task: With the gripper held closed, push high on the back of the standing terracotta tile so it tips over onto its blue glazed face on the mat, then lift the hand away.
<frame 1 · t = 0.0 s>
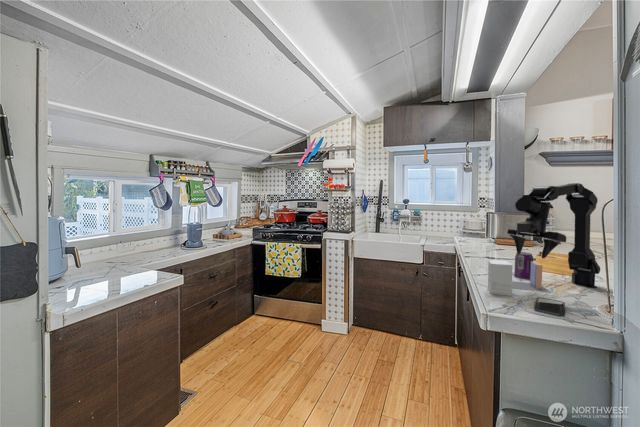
hand: (530, 256, 110), 15 cm above the countertop, tool pointing down, fingers open, 9 cm apart
beverage can: (523, 278, 134), on the countertop
mat: (524, 287, 120), on the countertop
phone: (549, 308, 99), on the countertop
tile: (535, 286, 119), point 1 cm above the countertop, touching mat
supplement box: (499, 293, 113), on the countertop
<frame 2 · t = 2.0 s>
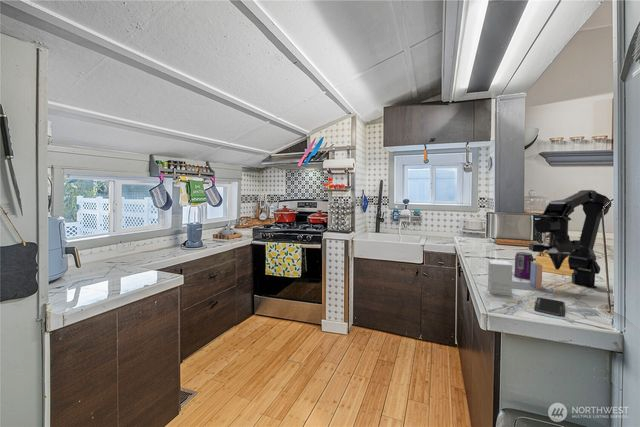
hand: (557, 269, 116), 9 cm above the countertop, tool pointing down, fingers closed
nothing on the countertop moved.
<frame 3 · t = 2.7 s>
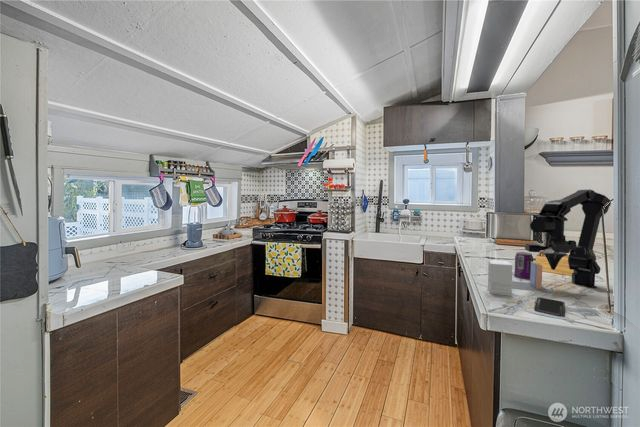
hand: (553, 269, 117), 9 cm above the countertop, tool pointing down, fingers closed
nothing on the countertop moved.
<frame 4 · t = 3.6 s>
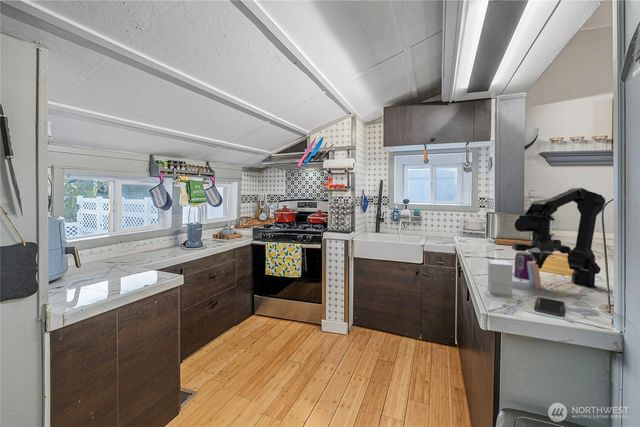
hand: (539, 268, 118), 9 cm above the countertop, tool pointing down, fingers closed
tile: (535, 286, 119), point 1 cm above the countertop, tilted 9°, touching gripper, mat
everything else where it was.
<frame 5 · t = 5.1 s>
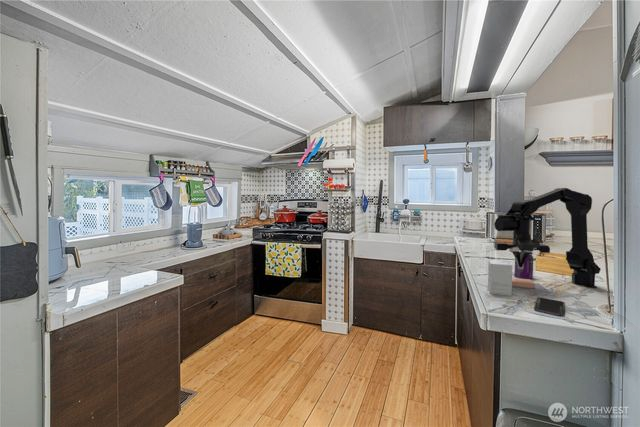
hand: (520, 267, 121), 9 cm above the countertop, tool pointing down, fingers closed
tile: (532, 283, 119), point 2 cm above the countertop, tilted 90°, touching mat
everything else where it was.
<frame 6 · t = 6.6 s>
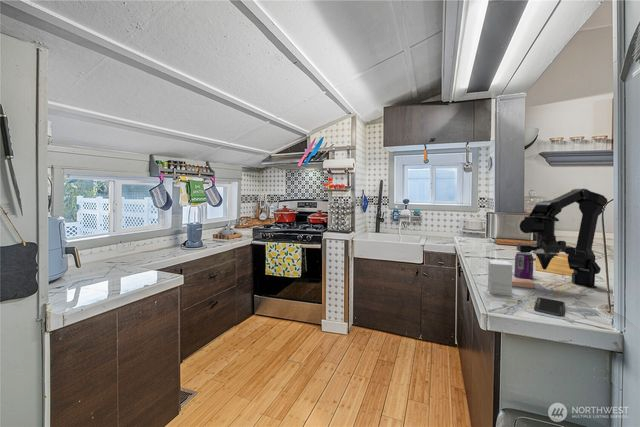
hand: (544, 269, 118), 8 cm above the countertop, tool pointing down, fingers closed
nothing on the countertop moved.
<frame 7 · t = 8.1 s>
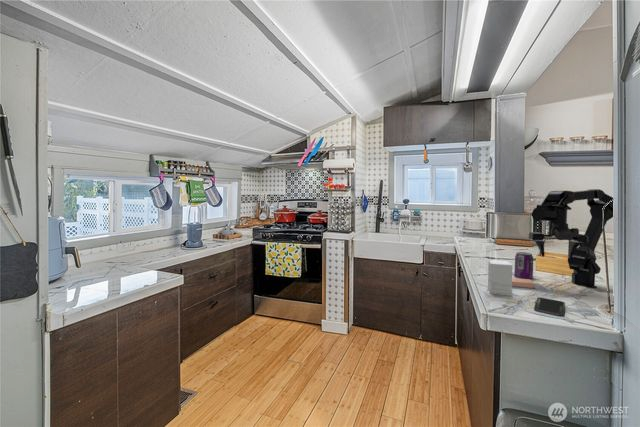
hand: (556, 257, 119), 13 cm above the countertop, tool pointing down, fingers open, 9 cm apart
nothing on the countertop moved.
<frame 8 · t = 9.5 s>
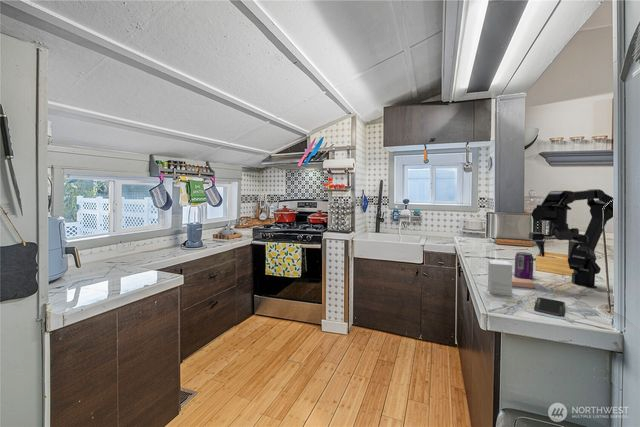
hand: (556, 257, 119), 13 cm above the countertop, tool pointing down, fingers open, 9 cm apart
nothing on the countertop moved.
at the end: tile tilted 90°; tile inside the target area (3.8 cm from its centre), point 1.8 cm above the countertop; beverage can moved 0.2 cm from its start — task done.
